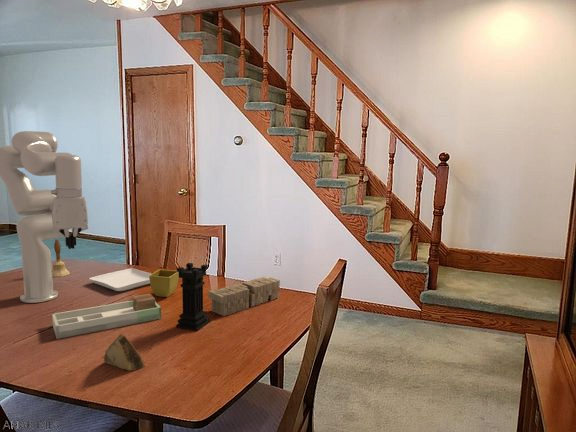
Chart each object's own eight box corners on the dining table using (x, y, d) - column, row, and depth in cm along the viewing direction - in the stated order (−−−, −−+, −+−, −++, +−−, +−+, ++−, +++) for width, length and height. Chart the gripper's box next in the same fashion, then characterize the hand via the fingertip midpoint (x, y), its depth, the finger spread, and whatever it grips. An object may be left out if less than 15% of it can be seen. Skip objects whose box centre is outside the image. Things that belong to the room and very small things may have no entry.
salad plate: (131, 274, 202) (131, 266, 202) (161, 283, 190) (161, 275, 189) (87, 285, 185) (87, 277, 185) (117, 296, 173) (117, 288, 172)
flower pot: (169, 299, 170) (169, 277, 168) (149, 297, 171) (148, 275, 170) (179, 292, 178) (179, 270, 177) (159, 290, 180) (159, 269, 178)
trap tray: (52, 325, 144) (51, 313, 143) (151, 307, 161) (151, 297, 160) (56, 339, 134) (56, 326, 133) (161, 318, 151) (161, 307, 151)
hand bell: (55, 278, 192) (53, 242, 190) (45, 275, 197) (43, 240, 194) (73, 274, 199) (71, 239, 196) (63, 270, 203) (61, 237, 201)
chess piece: (209, 322, 149) (209, 264, 146) (197, 331, 142) (196, 271, 139) (189, 318, 152) (188, 262, 149) (176, 327, 145) (175, 268, 141)
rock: (91, 356, 119) (103, 366, 111) (109, 327, 122) (121, 334, 114) (125, 370, 125) (139, 380, 117) (141, 341, 128) (155, 350, 120)
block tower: (265, 295, 180) (207, 311, 159) (266, 275, 179) (207, 289, 158) (279, 300, 175) (220, 318, 154) (280, 280, 174) (221, 294, 152)
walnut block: (133, 308, 154) (132, 296, 154) (150, 305, 158) (150, 293, 157) (137, 314, 149) (137, 301, 149) (155, 311, 153) (155, 298, 152)
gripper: (44, 195, 136) (47, 253, 139) (96, 194, 144) (97, 248, 148) (41, 192, 142) (44, 247, 145) (91, 191, 150) (92, 243, 154)
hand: (71, 247), depth 147 cm, fingers closed
